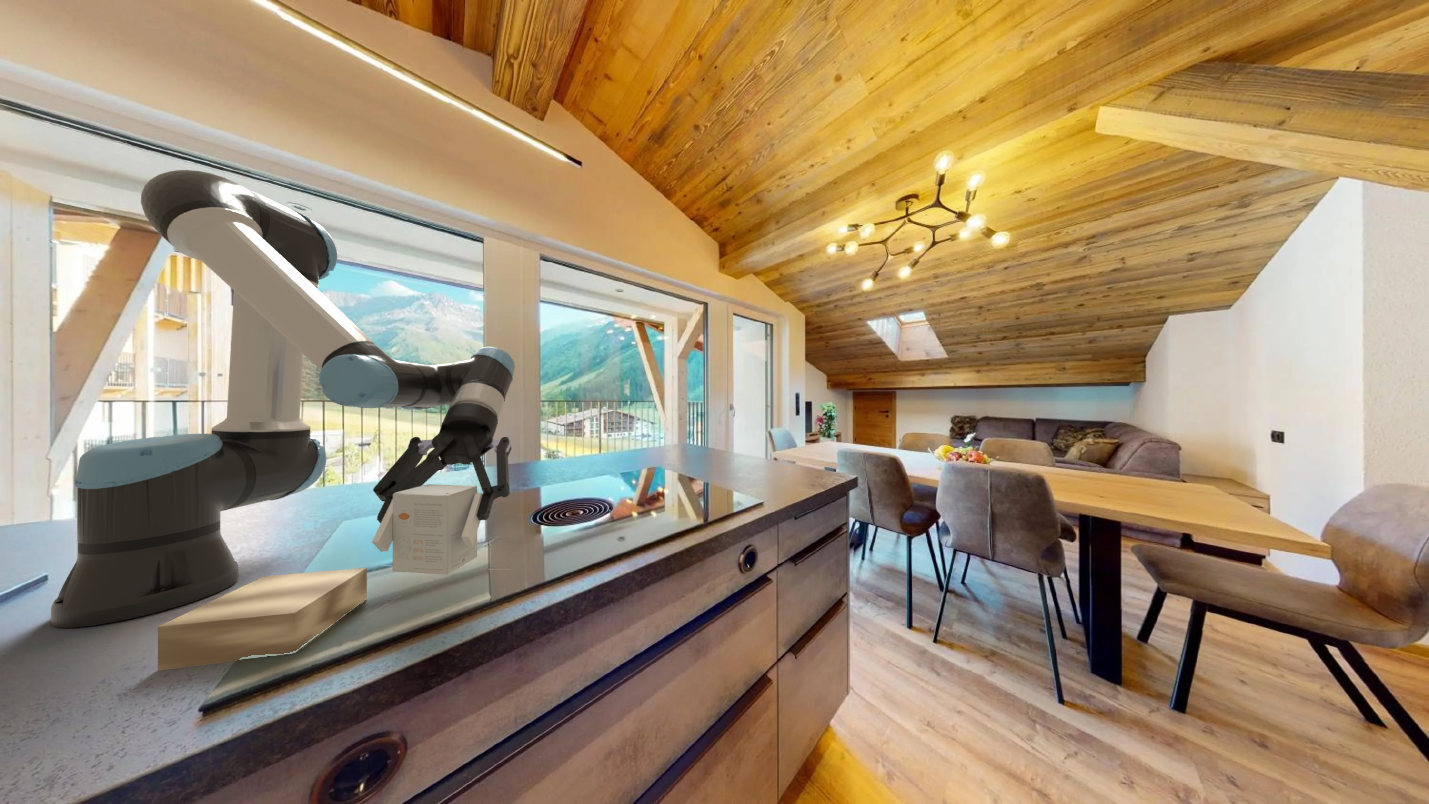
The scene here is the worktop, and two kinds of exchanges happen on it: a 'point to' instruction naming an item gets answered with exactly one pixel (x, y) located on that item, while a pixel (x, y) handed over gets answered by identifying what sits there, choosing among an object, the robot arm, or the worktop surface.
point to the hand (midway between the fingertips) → (424, 543)
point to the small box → (431, 528)
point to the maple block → (261, 618)
